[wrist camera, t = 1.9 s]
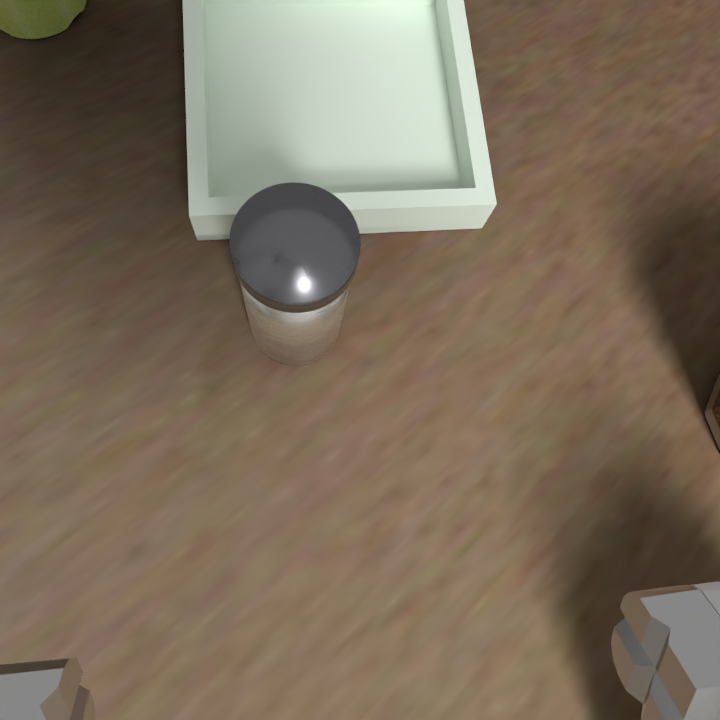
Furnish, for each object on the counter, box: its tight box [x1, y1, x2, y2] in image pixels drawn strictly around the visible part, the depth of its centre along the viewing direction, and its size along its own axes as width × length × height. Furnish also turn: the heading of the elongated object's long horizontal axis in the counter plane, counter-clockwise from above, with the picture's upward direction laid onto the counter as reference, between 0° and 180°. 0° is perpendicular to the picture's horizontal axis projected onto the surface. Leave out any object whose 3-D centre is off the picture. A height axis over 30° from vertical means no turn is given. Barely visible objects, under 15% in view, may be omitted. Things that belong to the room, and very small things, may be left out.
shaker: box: [229, 182, 361, 366], centre depth 29 cm, size 5×5×10 cm
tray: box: [183, 0, 497, 240], centre depth 36 cm, size 16×16×3 cm
